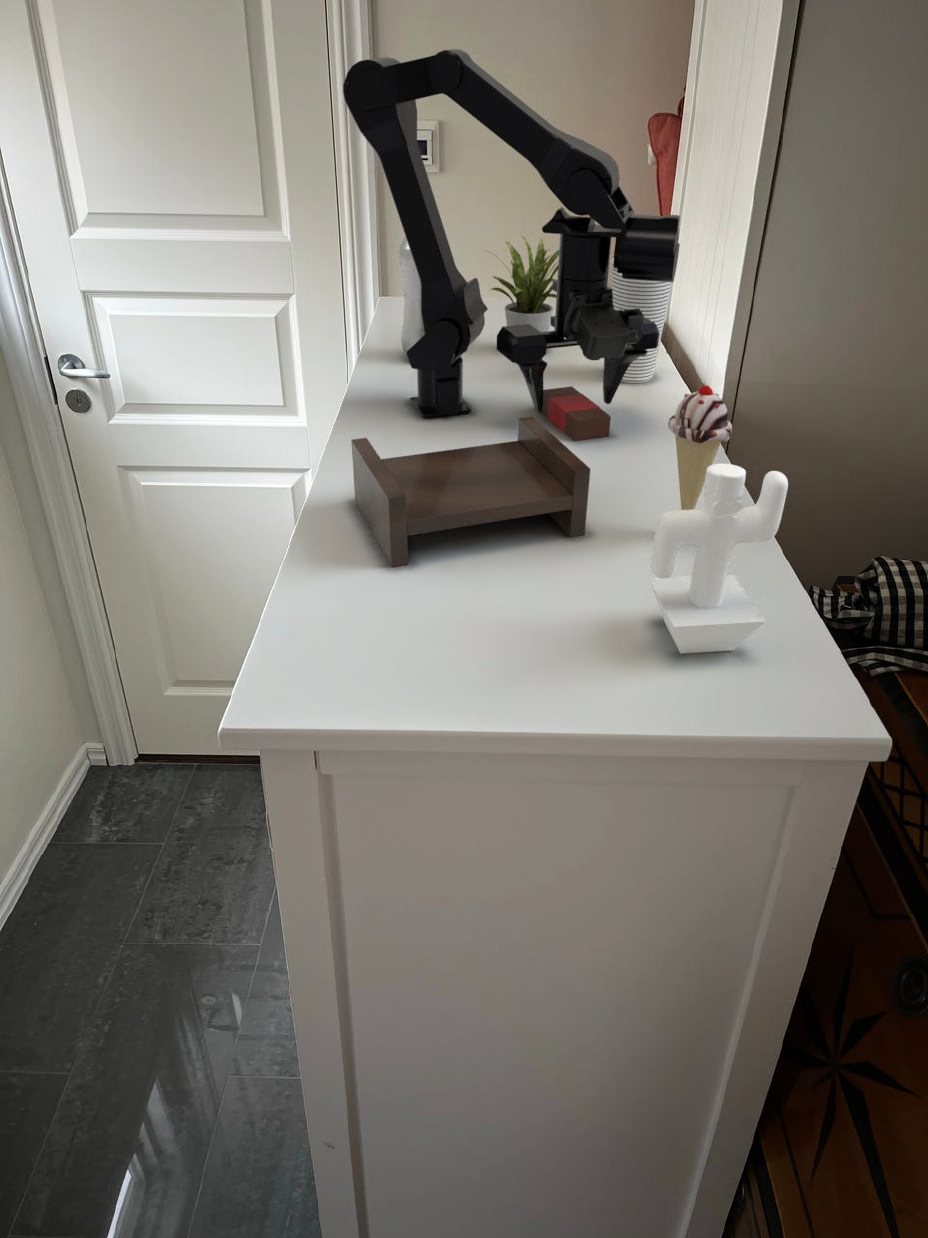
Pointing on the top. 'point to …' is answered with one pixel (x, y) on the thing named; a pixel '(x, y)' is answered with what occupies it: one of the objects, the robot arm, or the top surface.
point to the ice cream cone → (698, 440)
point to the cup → (653, 307)
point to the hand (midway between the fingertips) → (573, 407)
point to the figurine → (713, 560)
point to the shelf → (469, 487)
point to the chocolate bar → (575, 413)
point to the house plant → (529, 289)
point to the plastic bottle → (410, 299)
